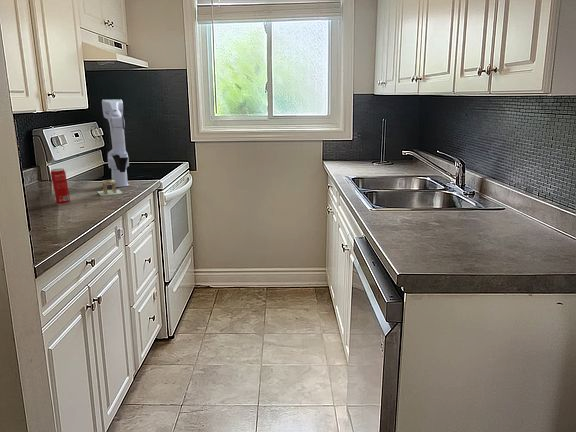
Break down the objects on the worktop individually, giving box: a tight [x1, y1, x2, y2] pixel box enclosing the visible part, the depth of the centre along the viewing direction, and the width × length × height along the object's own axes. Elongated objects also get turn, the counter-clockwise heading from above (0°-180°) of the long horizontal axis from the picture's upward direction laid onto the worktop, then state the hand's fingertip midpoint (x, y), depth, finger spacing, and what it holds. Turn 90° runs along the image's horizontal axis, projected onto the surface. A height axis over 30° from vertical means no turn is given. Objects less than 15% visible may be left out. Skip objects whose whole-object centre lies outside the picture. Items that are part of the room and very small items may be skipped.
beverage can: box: [50, 168, 71, 206], centre depth 212 cm, size 6×6×15 cm
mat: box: [97, 189, 124, 197], centre depth 236 cm, size 10×10×1 cm
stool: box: [102, 179, 117, 194], centre depth 235 cm, size 5×5×6 cm
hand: (121, 170), depth 237 cm, fingers open, 7 cm apart
